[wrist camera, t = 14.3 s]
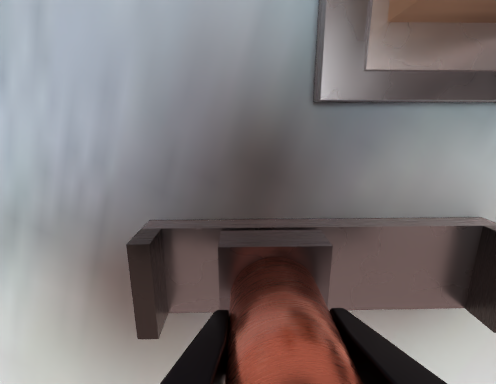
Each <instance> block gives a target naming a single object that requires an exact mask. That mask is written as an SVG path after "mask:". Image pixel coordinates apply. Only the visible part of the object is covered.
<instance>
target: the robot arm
mask: <svg viewBox="0 0 496 384" xmlns="http://www.w3.org/2000/svg"><path fill="white" fill-rule="evenodd" d="M329 312H330V314H331V316H332V318H333V320H334V322H335V325H336V327H337V329H338V331H339V333H340V335H341V337H342V339H343V342H344V344H345V346H346V348H347V350H348V352H349V354H350V357H351V359H352V361H353V363H354V365H355V367H356V369H357V372H358V374H359V376H360V378H361V380H362V382H363V384H447V383H445V382H444V381H443V380H441V379H440V378H439V377H437V376H436V375H435V374H433V373H432V372H430V371H429V370H428V369H426V368H425V367H424V366H422V365H421V364H419V363H418V362H417V361H415V360H414V359H413V358H411V357H410V356H408V355H407V354H406V353H404V352H403V351H402V350H400V349H399V348H398V347H396V346H395V345H393V344H392V343H391V342H389V341H388V340H387V339H385V338H384V337H382V336H381V335H380V334H378V333H377V332H376V331H374V330H373V329H371V328H370V327H369V326H367V325H366V324H365V323H363V322H362V321H361V320H359V319H358V318H356V317H355V316H354V315H352V314H351V313H350V312H348V311H347V310H345V309H344V308H331V309H330V311H329ZM228 330H229V310H216V311H215V312H214V313H213V315H212V316H211V317H210V319H209V320H208V321H207V323H206V324H205V325H204V327H203V328H202V329H201V331H200V332H199V333H198V335H197V336H196V337H195V338H194V340H193V341H192V342H191V344H190V345H189V346H188V348H187V349H186V350H185V352H184V353H183V354H182V356H181V357H180V358H179V360H178V361H177V362H176V363H175V365H174V366H173V367H172V369H171V370H170V371H169V373H168V374H167V375H166V377H165V378H164V379H163V381H162V382H161V383H160V384H225V375H226V359H227V347H228Z"/></svg>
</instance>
